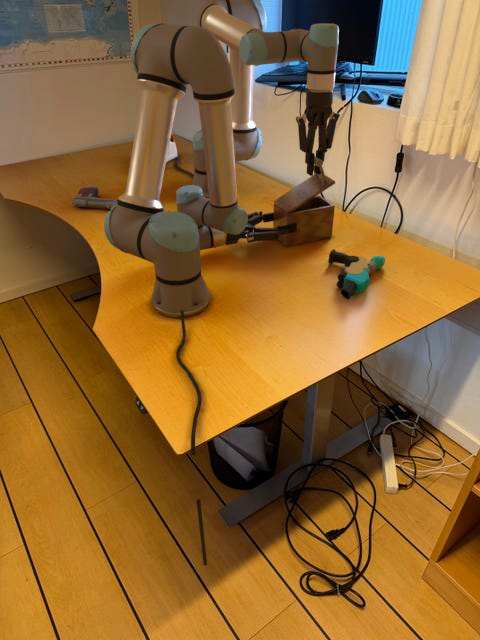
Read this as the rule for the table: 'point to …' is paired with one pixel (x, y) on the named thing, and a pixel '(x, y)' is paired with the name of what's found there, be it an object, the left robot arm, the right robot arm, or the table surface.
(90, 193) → the toy gun
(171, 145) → the sneaker
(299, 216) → the chest
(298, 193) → the lid
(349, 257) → the toy gun
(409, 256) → the table surface
